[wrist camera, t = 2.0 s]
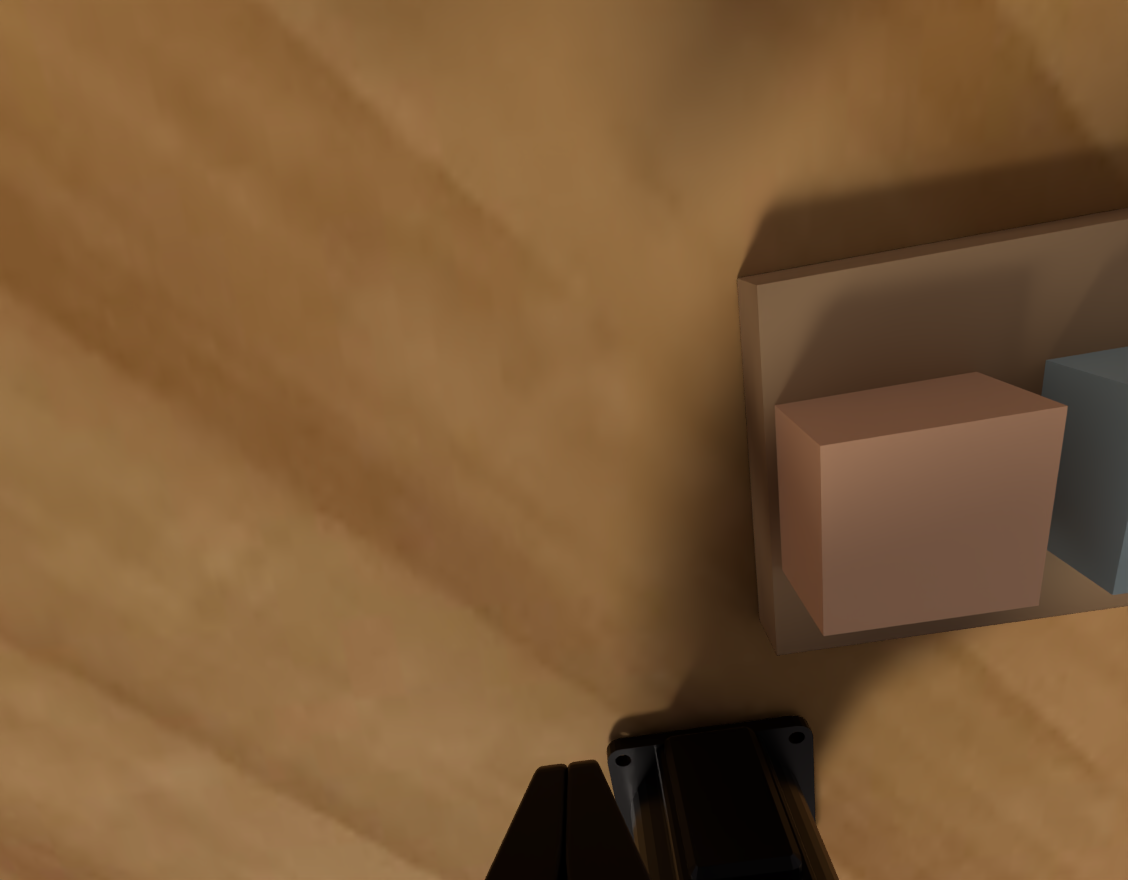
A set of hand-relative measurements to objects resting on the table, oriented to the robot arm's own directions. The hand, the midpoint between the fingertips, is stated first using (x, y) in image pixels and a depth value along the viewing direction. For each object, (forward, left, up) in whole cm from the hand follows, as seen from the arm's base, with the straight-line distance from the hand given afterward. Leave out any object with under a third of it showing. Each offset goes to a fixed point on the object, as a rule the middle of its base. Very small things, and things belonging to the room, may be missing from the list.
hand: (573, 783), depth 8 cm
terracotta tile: (0, -7, -7) cm, 10 cm away
